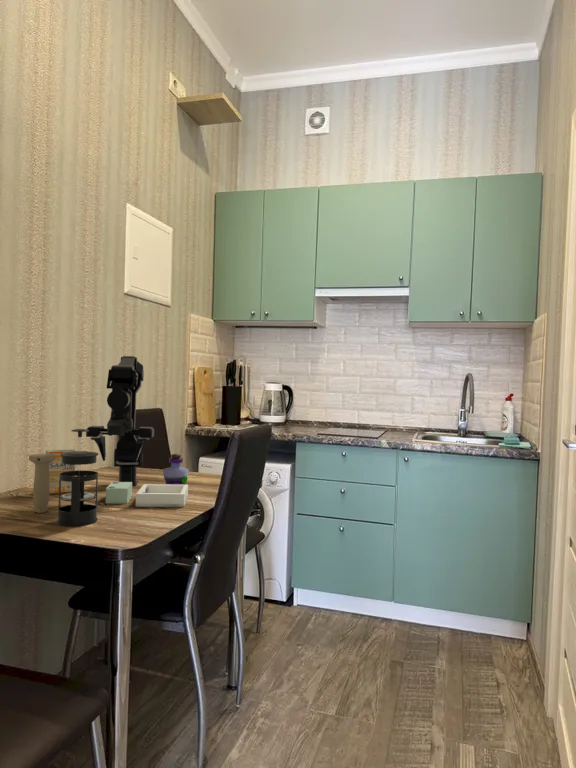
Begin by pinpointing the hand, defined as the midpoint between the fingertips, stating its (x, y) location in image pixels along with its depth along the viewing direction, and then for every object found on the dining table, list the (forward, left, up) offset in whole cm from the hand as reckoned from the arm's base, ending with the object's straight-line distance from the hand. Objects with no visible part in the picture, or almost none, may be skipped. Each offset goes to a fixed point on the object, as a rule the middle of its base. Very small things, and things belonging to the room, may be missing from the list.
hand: (120, 461), depth 163 cm
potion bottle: (-13, +15, -12) cm, 23 cm away
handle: (+16, -17, -12) cm, 26 cm away
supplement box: (-10, -20, -12) cm, 25 cm away
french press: (+26, -5, -12) cm, 29 cm away
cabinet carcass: (+2, +13, -11) cm, 17 cm away
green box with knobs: (0, 0, -12) cm, 12 cm away
